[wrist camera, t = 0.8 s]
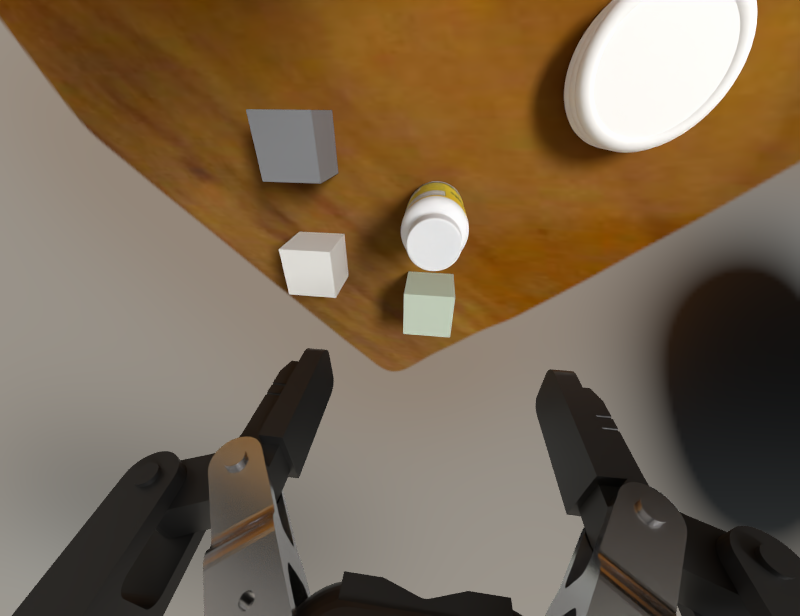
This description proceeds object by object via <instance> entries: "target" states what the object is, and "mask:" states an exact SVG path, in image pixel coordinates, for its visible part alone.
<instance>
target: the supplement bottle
mask: <svg viewBox="0 0 800 616" xmlns="http://www.w3.org/2000/svg"><path fill="white" fill-rule="evenodd" d="M468 233H469V226H468V220H467V215H466V212H465V208H464V205H463V201H462V199H461V196H460V195H459V193H458V192H457V190H456V189H455V188H454V187H452V186H451V185H449V184H447V183H444V182H439V181H434V182H429V183H426V184H424V185H422V186H420V187H419V188H418V189H417V190H416V191H415V192H414V193H413V195H412V196H411V198H410V200H409V203H408V206H407V209H406V212H405V215H404V217H403V220H402V225H401V238H402V242H403V245H404V247H405V249H406V250H407V253H408V255H409V257H410V259H411V260H412V261H413V263H414V264H416V265H417V266H418V267H420V268H422V269H424V270H428V271H439V270H443V269H446V268H448V267H449V266H451V265H452V264H453V263H454V262H455V261H456V260H457V259H458V257H459V255H460V253H461V251H462V249H463V248H464V246H465V244H466V242H467V238H468Z"/></svg>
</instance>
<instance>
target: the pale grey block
mask: <svg viewBox="0 0 800 616" xmlns="http://www.w3.org/2000/svg"><path fill="white" fill-rule="evenodd" d="M279 253H280V257H281V261H282V266H283V270H284V274H285V278H286V283H287V287H288V291H289V294H291V295H305V296H319V297H332V298H336V297H337V295H338V293H339V291H340V290H341V288H342V286H343V284H344V283H345V281H346V279H347V277H348V266H347V256H346V246H345V236H344V234H335V233H315V232H299V233H297V234H296V235H295V236H294V237H293V238H291V239H290V240H289V241H288V242H287V243H285V244H284V245H283V246H282V247H281V248H280V249H279Z"/></svg>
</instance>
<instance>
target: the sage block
mask: <svg viewBox="0 0 800 616" xmlns="http://www.w3.org/2000/svg"><path fill="white" fill-rule="evenodd" d="M454 302H455V289H454V275H453V274H441V273H424V272H408V276H407V281H406V286H405V291H404V318H403V334H413V335H426V336H439V337H450V333H451V325H452V318H453V310H454Z"/></svg>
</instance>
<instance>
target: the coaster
mask: <svg viewBox="0 0 800 616" xmlns="http://www.w3.org/2000/svg"><path fill="white" fill-rule="evenodd" d="M756 24H757V0H612V1H611V2H610V3H609V4H608V5H607V6H606V7H605V8H604V9H603V10H602V11H601V12H600V13H599V15H598V16H597V17H596V18H595V19H594V20H593V22H592V23H591V24H590V26H589V27H588V29H587V30H586V31H585V33H584V35H583V36H582V38H581V40H580V41H579V43H578V45H577V47H576V49H575V51H574V54H573V56H572V58H571V61H570V64H569V67H568V71H567V75H566V79H565V86H564V105H565V110H566V115H567V118H568V121H569V123H570V125H571V127H572V129H573V130H574V132H575V133H576V134H577V136H578V137H580V138H581V139H582V140H583V141H584V142H586V143H588V144H589V145H592V146H594V147H597V148H601V149H606V150H610V151H614V152H623V153H629V152H638V151H643V150H648V149H651V148H654V147H657V146H660V145H662V144H664V143H666V142H669V141H671V140H673V139H674V138H676V137H678V136H680V135H682V134H683V133H685V132H686V131H687V130H689V129H690V128H692V127H693V126H694V125H696V124H697V123H698V122H699V121H700V120H702V119H703V118H704V117H705V116H706V115H707V114H708V113H709V112H710V111H711V110H712V109H713V108H714V107H715V106H716V105H717V104H718V103H719V102H720V100H721V99H722V98H723V97H724V96H725V94H726V93H727V92H728V90H729V89H730V88H731V86H732V85H733V83H734V82H735V80H736V78H737V77H738V75H739V74H740V72H741V70H742V68H743V66H744V64H745V62H746V59H747V57H748V54H749V52H750V49H751V46H752V43H753V39H754V36H755V30H756Z"/></svg>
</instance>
